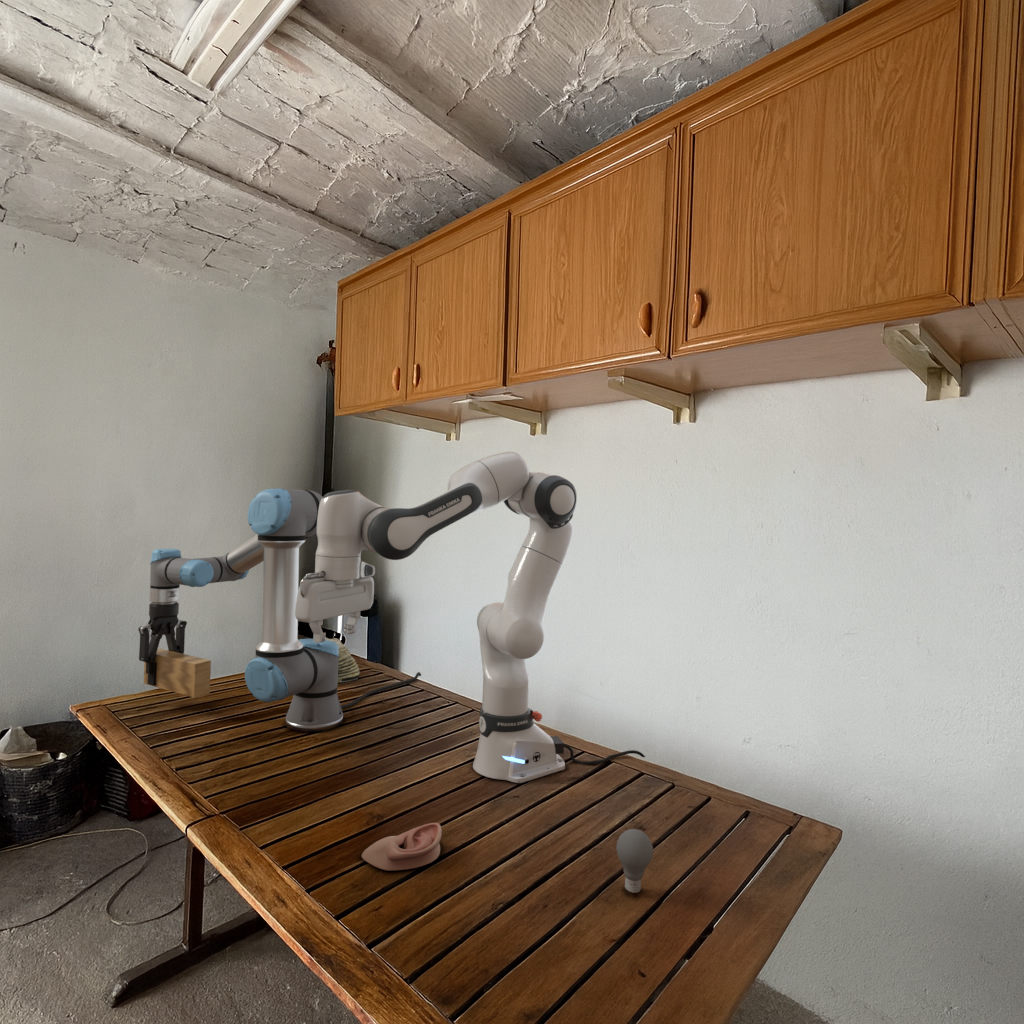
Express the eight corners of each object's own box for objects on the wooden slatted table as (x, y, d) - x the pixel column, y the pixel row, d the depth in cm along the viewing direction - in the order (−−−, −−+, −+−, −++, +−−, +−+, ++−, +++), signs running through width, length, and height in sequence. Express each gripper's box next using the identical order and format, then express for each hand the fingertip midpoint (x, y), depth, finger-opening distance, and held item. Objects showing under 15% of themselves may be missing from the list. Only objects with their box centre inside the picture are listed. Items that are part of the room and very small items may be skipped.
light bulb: (610, 879, 108) (613, 822, 108) (644, 879, 109) (647, 822, 109) (619, 902, 102) (622, 840, 102) (655, 901, 103) (658, 840, 103)
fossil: (300, 681, 213) (301, 637, 213) (350, 673, 226) (352, 631, 226) (311, 688, 207) (313, 642, 207) (362, 679, 219) (364, 636, 219)
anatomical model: (354, 842, 109) (381, 811, 120) (353, 865, 109) (380, 831, 121) (427, 854, 107) (448, 821, 118) (426, 877, 107) (447, 842, 118)
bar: (143, 683, 183) (144, 651, 183) (159, 679, 188) (160, 648, 188) (194, 697, 173) (195, 664, 173) (209, 693, 178) (211, 660, 178)
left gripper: (142, 608, 173) (138, 692, 174) (200, 600, 189) (197, 677, 190) (125, 604, 177) (122, 687, 177) (184, 597, 193) (181, 673, 193)
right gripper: (314, 575, 117) (311, 649, 118) (380, 566, 136) (377, 630, 136) (288, 572, 120) (285, 645, 120) (356, 564, 139) (353, 627, 139)
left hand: (161, 682), depth 184 cm, fingers closed on bar, 5 cm apart
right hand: (335, 637), depth 128 cm, fingers open, 8 cm apart
